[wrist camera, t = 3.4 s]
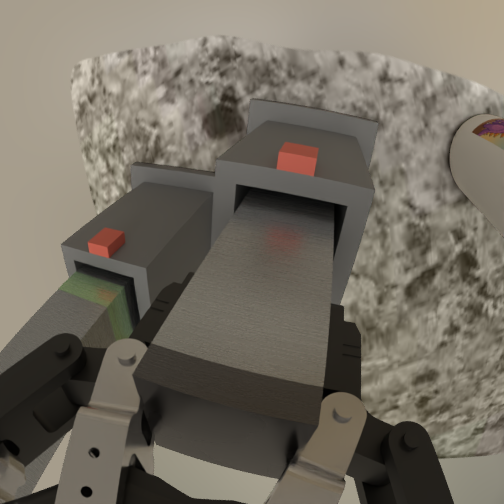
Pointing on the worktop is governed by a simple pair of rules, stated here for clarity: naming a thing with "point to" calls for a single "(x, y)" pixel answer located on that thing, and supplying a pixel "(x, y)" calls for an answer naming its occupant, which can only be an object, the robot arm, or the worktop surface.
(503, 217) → the milk bottle
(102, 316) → the column
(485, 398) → the worktop surface
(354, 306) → the worktop surface
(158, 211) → the stand
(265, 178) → the stand
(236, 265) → the column
